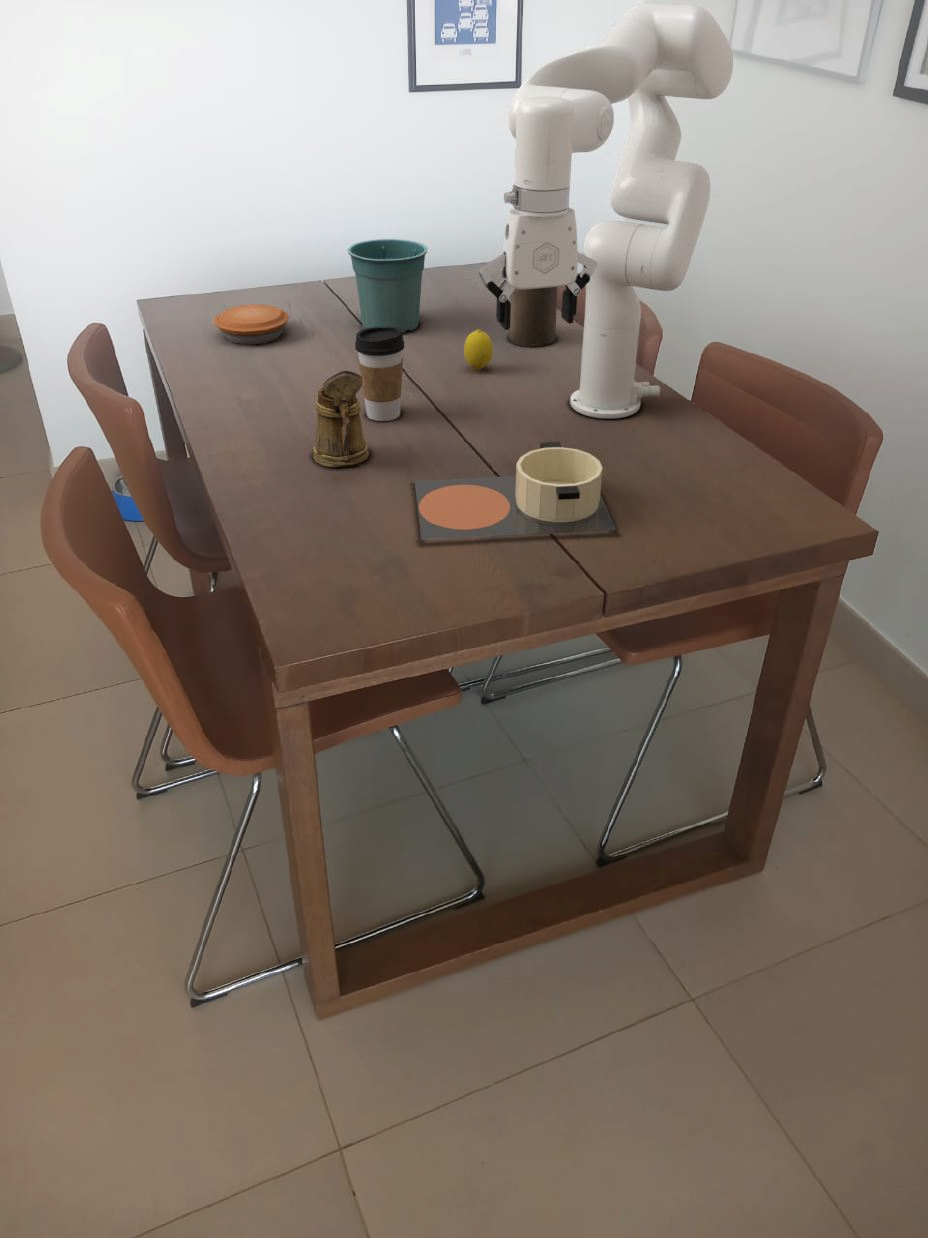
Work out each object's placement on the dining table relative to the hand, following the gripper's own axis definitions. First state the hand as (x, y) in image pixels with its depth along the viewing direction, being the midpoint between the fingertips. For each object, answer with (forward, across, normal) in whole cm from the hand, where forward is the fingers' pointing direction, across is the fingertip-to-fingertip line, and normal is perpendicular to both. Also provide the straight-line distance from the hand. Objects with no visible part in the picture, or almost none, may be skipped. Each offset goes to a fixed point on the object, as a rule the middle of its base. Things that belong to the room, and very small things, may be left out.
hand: (536, 323), depth 145 cm
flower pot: (+24, -7, +73) cm, 77 cm away
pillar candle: (+24, +20, +57) cm, 65 cm away
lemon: (+24, +4, +43) cm, 50 cm away
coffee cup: (+24, -18, +28) cm, 41 cm away
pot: (+23, 0, -12) cm, 26 cm away
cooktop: (+24, -7, -11) cm, 27 cm away
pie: (+24, -36, +75) cm, 86 cm away
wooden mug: (+24, -28, +12) cm, 39 cm away
